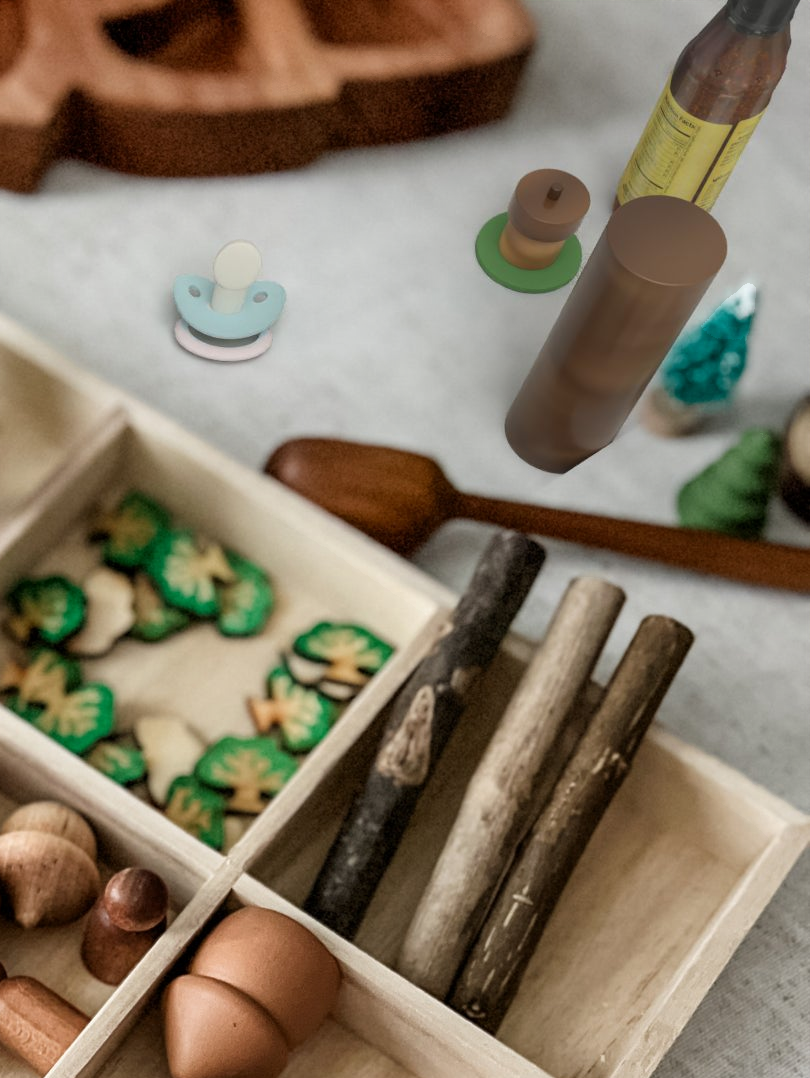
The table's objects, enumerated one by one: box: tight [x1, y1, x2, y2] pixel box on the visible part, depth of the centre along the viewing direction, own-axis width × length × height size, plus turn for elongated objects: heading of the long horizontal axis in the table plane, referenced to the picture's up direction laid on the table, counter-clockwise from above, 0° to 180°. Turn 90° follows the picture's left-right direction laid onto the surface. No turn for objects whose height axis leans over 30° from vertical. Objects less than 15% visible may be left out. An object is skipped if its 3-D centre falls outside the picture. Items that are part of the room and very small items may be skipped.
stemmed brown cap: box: [499, 168, 591, 270], centre depth 111 cm, size 5×5×5 cm
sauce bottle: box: [612, 0, 801, 214], centre depth 106 cm, size 7×6×20 cm
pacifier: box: [172, 239, 287, 362], centre depth 109 cm, size 7×6×6 cm
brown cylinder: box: [504, 195, 728, 474], centre depth 101 cm, size 7×7×16 cm
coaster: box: [474, 211, 583, 294], centre depth 114 cm, size 7×7×1 cm
